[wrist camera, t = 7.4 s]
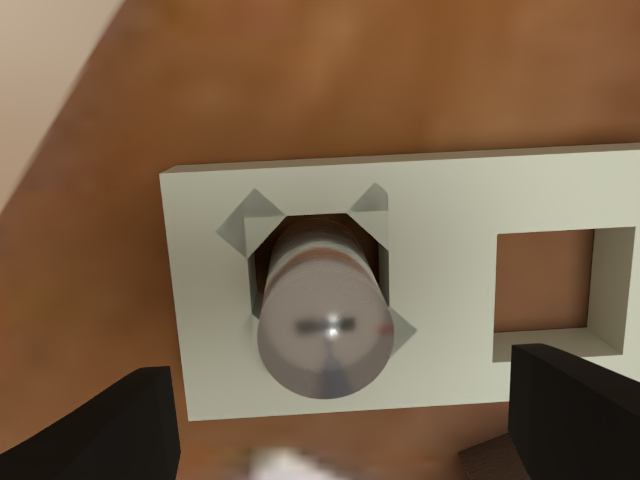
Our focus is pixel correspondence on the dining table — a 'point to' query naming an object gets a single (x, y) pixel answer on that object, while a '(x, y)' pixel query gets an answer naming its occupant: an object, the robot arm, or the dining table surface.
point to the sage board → (401, 266)
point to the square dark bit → (494, 460)
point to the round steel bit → (323, 313)
